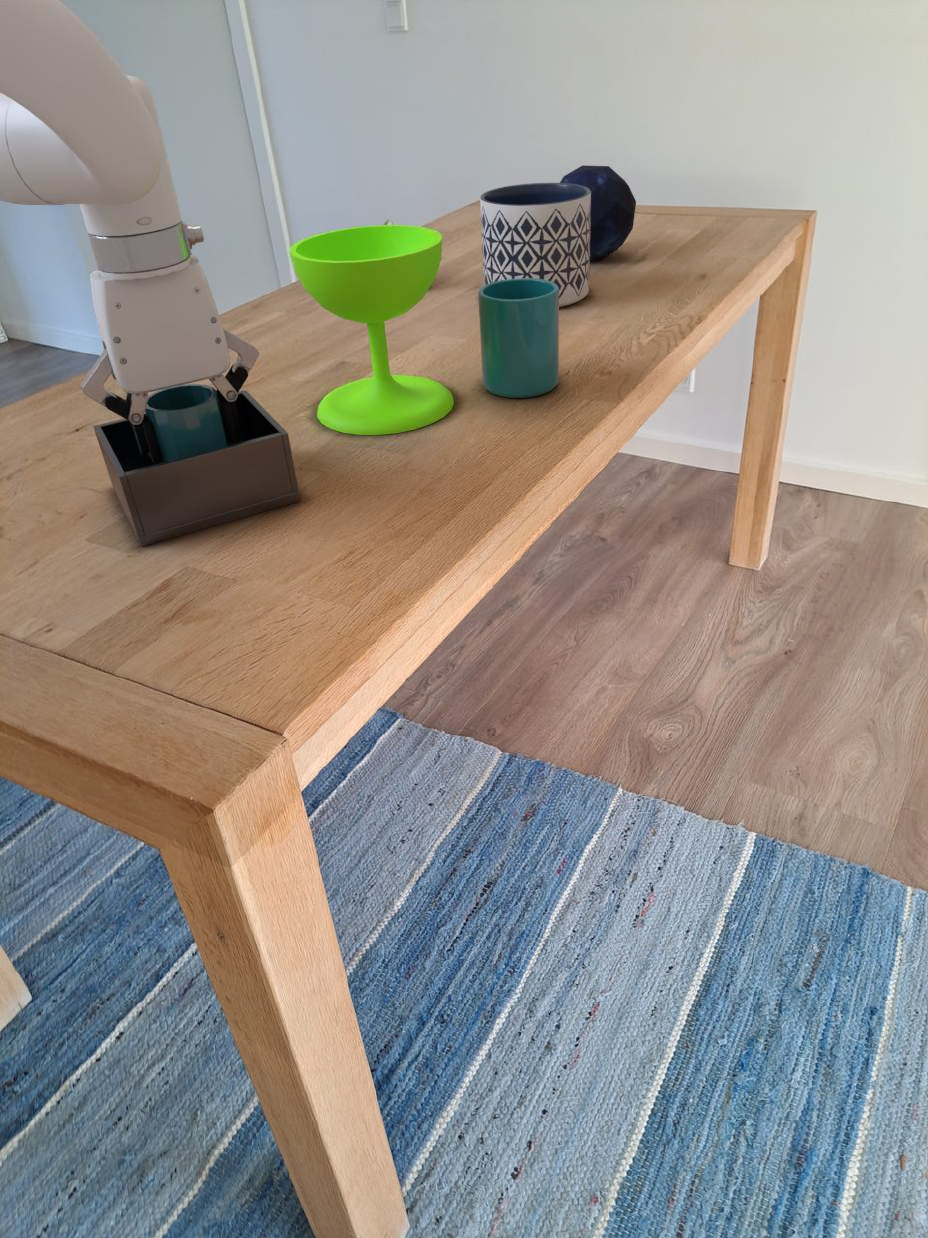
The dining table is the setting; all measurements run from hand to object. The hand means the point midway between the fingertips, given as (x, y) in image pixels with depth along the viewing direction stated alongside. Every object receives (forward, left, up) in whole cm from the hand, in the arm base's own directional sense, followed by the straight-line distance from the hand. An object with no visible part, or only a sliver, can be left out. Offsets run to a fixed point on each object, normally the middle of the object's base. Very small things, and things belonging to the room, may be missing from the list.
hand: (192, 446), depth 84 cm
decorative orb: (+80, +49, -5) cm, 94 cm away
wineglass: (+24, +10, -5) cm, 27 cm away
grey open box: (0, 0, -5) cm, 5 cm away
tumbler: (0, 0, -4) cm, 4 cm away
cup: (+41, +7, -5) cm, 42 cm away
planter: (+61, +36, -5) cm, 71 cm away
